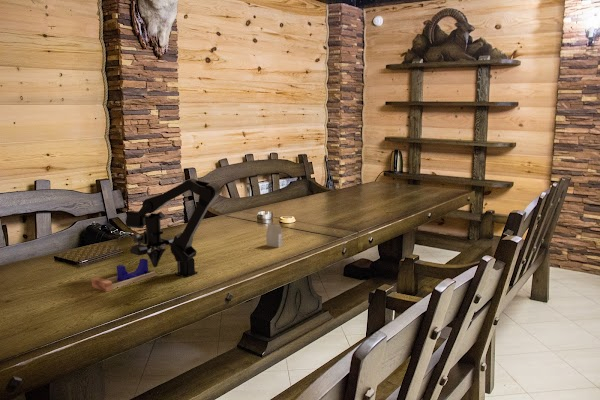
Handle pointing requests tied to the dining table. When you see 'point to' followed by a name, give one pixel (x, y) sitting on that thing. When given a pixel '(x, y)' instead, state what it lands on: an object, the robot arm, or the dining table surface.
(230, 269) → the dining table surface
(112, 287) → the guide track
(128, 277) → the blue cradle block
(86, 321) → the dining table surface
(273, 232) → the grey upright block
